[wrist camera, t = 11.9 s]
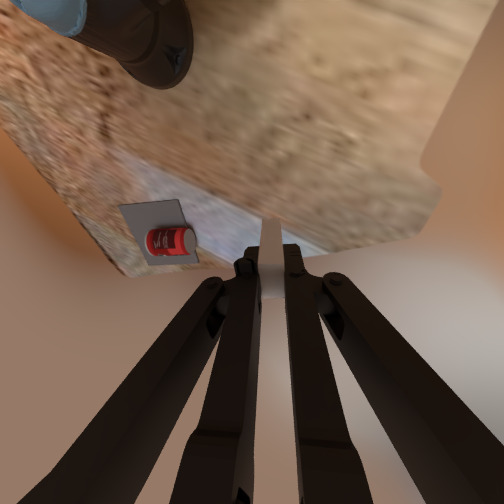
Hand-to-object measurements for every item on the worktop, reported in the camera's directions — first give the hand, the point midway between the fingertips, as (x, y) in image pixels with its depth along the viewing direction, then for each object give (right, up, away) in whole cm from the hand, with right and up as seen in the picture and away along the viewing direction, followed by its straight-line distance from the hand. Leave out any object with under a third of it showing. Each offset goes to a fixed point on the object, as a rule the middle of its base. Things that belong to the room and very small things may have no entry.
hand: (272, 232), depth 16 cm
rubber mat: (-29, +3, +40) cm, 50 cm away
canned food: (-19, +1, +35) cm, 40 cm away
